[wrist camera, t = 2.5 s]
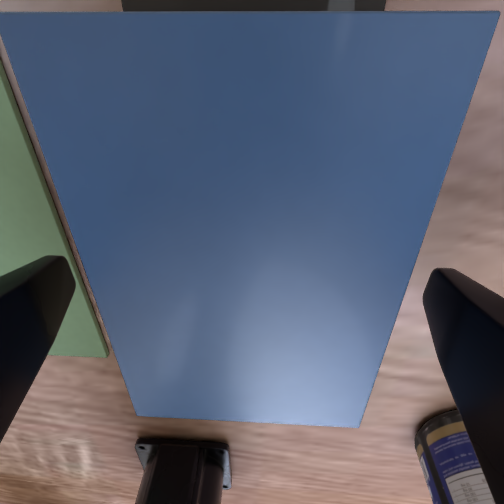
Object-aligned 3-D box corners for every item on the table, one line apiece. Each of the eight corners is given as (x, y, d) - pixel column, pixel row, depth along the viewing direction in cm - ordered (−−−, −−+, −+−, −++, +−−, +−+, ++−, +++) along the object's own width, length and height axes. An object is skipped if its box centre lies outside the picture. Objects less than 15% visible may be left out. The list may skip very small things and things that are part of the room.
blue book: (342, 345, 13) (359, 428, 10) (163, 338, 13) (136, 416, 11) (418, 13, 7) (503, 10, 4) (92, 14, 7) (-10, 11, 5)
